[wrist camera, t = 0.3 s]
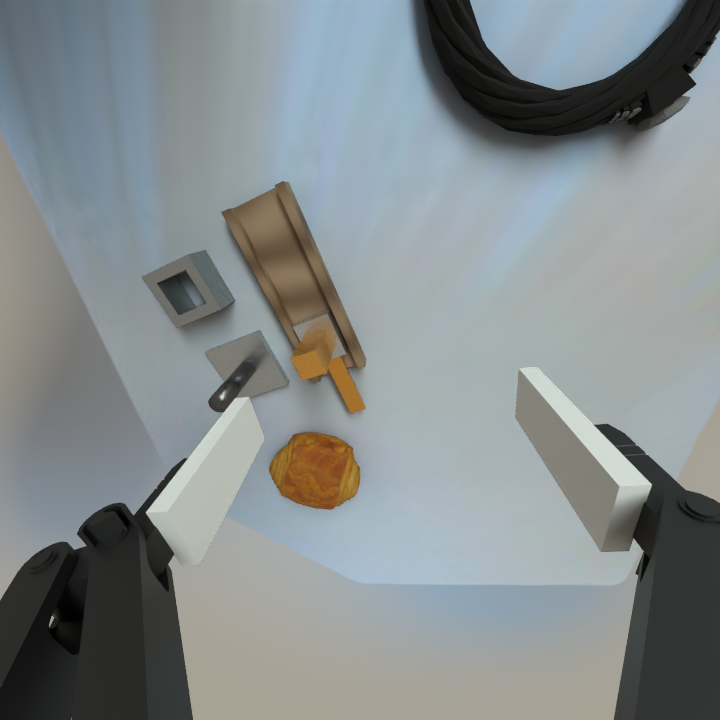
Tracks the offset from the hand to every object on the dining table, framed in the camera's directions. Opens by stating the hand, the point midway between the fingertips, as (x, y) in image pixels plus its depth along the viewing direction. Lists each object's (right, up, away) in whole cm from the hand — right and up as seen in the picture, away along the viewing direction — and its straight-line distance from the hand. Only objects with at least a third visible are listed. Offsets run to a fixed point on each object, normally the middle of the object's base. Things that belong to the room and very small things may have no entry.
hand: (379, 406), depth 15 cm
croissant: (-8, -15, +40) cm, 43 cm away
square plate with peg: (-18, +1, +31) cm, 36 cm away
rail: (-8, +11, +26) cm, 29 cm away
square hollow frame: (-23, +12, +26) cm, 37 cm away
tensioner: (-4, +1, +29) cm, 29 cm away
